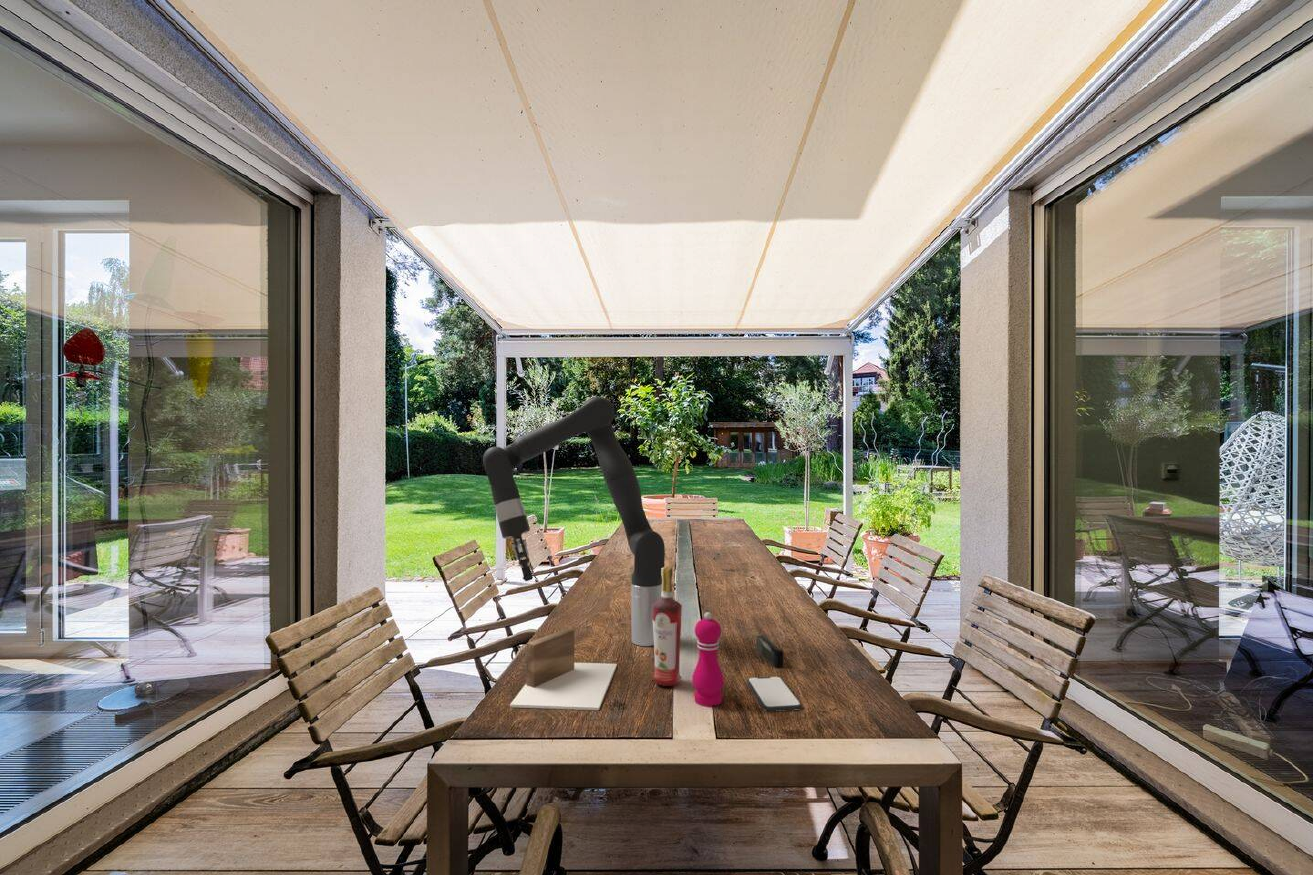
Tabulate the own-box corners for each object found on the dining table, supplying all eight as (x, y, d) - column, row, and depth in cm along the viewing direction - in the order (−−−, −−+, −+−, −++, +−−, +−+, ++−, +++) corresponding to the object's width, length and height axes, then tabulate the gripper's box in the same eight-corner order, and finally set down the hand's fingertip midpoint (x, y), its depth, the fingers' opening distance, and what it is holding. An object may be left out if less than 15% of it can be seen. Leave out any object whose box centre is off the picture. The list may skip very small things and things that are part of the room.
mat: (616, 665, 153) (616, 663, 153) (598, 710, 127) (598, 707, 127) (542, 663, 154) (542, 661, 154) (510, 707, 128) (510, 704, 128)
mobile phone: (785, 649, 152) (761, 630, 166) (775, 650, 151) (751, 631, 165) (785, 668, 152) (761, 648, 166) (775, 669, 151) (751, 649, 165)
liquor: (647, 686, 139) (647, 570, 140) (658, 675, 146) (657, 564, 147) (676, 690, 137) (676, 572, 137) (685, 679, 144) (685, 566, 144)
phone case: (803, 712, 127) (780, 682, 143) (803, 705, 127) (780, 675, 143) (764, 715, 126) (745, 683, 142) (764, 707, 126) (745, 677, 142)
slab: (526, 684, 139) (526, 643, 139) (566, 666, 150) (566, 628, 151) (533, 687, 137) (533, 645, 138) (574, 669, 149) (574, 630, 149)
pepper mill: (703, 710, 127) (702, 618, 127) (686, 697, 133) (686, 610, 134) (730, 703, 130) (730, 614, 130) (712, 691, 137) (712, 606, 137)
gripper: (525, 511, 152) (543, 575, 149) (526, 517, 165) (542, 576, 162) (496, 519, 150) (514, 584, 147) (500, 524, 163) (516, 584, 160)
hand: (529, 580), depth 154 cm, fingers closed
